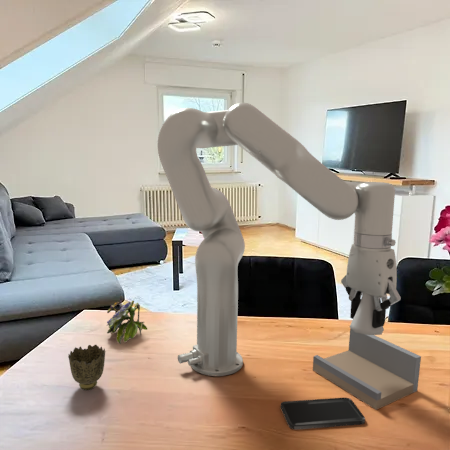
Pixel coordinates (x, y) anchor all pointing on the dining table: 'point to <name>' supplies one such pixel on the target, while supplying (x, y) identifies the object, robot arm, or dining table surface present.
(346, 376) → the wall shelf
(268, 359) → the dining table surface
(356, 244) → the robot arm
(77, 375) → the cup
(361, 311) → the flask
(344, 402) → the phone
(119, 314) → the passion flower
